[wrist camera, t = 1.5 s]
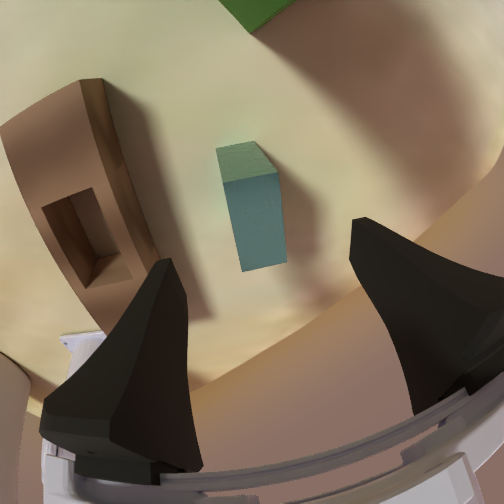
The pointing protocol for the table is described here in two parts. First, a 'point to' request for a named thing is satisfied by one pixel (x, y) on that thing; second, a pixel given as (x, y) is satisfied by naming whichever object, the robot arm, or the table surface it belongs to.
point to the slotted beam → (75, 180)
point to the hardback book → (255, 11)
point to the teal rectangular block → (253, 205)
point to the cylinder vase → (11, 425)
